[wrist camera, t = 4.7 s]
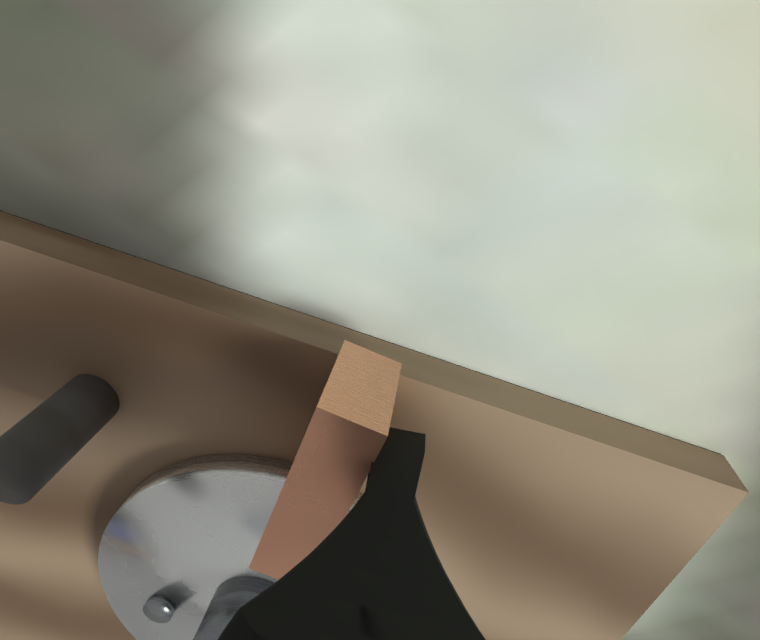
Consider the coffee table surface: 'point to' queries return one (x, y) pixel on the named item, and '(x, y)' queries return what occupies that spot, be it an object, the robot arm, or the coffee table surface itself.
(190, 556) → the flange plate
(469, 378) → the base board
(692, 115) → the coffee table surface
